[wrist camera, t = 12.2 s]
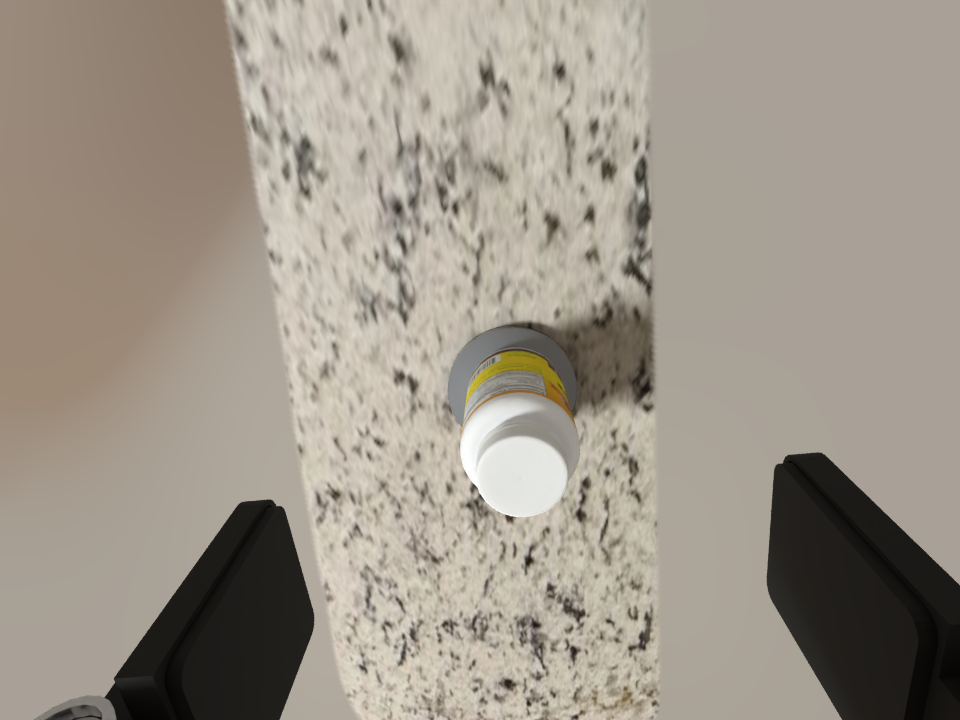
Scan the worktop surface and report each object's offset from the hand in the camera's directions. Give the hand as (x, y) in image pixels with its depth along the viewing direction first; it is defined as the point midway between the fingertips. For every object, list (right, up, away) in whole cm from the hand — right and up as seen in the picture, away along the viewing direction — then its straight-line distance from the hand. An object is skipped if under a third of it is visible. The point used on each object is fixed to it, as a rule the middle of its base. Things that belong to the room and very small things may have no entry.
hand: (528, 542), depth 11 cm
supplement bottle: (+1, +2, +23) cm, 23 cm away
